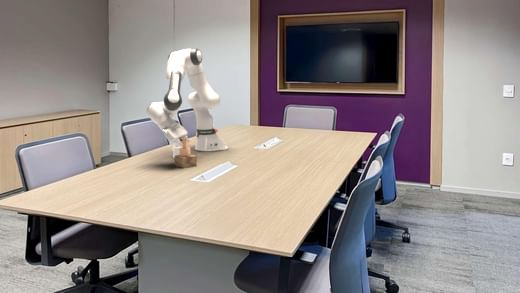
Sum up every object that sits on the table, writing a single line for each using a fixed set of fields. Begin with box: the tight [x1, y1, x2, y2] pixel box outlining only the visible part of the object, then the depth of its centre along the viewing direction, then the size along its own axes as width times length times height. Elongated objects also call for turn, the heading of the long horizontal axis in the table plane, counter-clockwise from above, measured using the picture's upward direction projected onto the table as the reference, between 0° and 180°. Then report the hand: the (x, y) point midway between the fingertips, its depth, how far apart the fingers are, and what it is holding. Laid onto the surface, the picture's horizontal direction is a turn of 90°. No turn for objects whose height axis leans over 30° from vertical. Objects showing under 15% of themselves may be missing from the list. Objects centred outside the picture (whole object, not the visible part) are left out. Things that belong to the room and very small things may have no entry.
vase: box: [180, 137, 192, 157], centre depth 260 cm, size 5×5×10 cm
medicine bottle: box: [171, 138, 182, 159], centre depth 283 cm, size 7×7×12 cm
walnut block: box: [174, 154, 198, 169], centre depth 261 cm, size 9×9×6 cm
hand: (185, 143), depth 260 cm, fingers open, 8 cm apart
